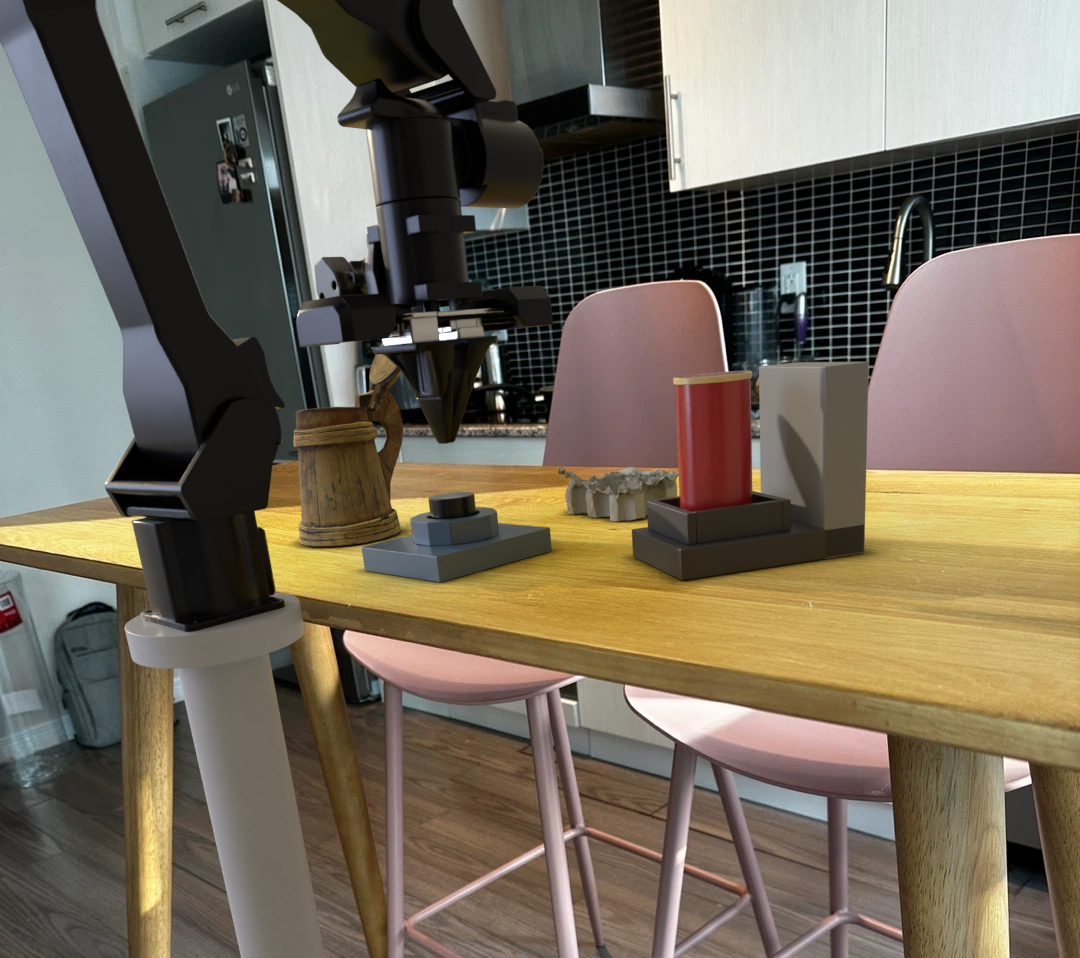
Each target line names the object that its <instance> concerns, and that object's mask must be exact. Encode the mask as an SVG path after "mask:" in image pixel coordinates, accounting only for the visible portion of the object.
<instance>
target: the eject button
mask: <svg viewBox="0 0 1080 958" xmlns="http://www.w3.org/2000/svg"><path fill="white" fill-rule="evenodd" d="M476 507H477V506H476V497H475V493H473V492H471V491H458V492H457V491H456V492H454V491H453V492H445V493H439V494H435V495H431V496H429V497H428V508H429V512H430V516H431V519H436V520H438V519H455V518H463V517H468V516H473V515H477V514H476Z"/></svg>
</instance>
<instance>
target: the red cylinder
mask: <svg viewBox="0 0 1080 958" xmlns="http://www.w3.org/2000/svg"><path fill="white" fill-rule="evenodd" d="M752 378H753V370H752V371H751V370H734V371H733V370H731V371H718V372H706V373H696V374H687V375H681V376H675V377H673V378H672V382H673V385H674V392H675V393H674V395H675V416H676V417H675V418H676V421H675V422H676V443H677V444H676V445H677V466H678V467H677V469H678V471H677V472H679V475H678V492H679V494H678V496H680V508H681V509H684V510H688V511H691V512H693V511H701V510H708V509H715V508H723V507H730V506H737V505H745V504H752V503H753V498H752V491H753V443H752V438H753V437H752V433H753V432H752V387H751V386H752V380H751V379H752Z"/></svg>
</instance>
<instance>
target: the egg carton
mask: <svg viewBox="0 0 1080 958" xmlns="http://www.w3.org/2000/svg"><path fill="white" fill-rule="evenodd" d="M557 474H558V475H562V476H563V477H564V478H565V479H569V484H568V485H567V486H566V489H565V495H564V497H565V503H566V509H567V510H566V511H567V512H568V514H570V515H580V514H587V516H588V518H607V517H609V519H610V521H611V522H612V521H613V522H625V521H636V520H640V519H646V516H647V500H655V499H662V498H670V497H677V496H678V483H677V478H679V471H677V472H675V471H674V470H671V471H670V472H668V471H666V470H662V469H660V468H658V469H657V470H656V471H652V470H649V471H643V470H641V469H639V468H637V467H635V466H629V467H626V468H623V469H622V470H619V471H611V472H609V473H608V472H605V473H604V476H602V477H599V478H598V477H596V476H595V474H592V475H591V476H590V477H589V479H588V480H587V479H584V478H581V477H580V476H578V475H577V474H576V473H575V472H573V471H567V470H566V468H564V467H559V468H558V471H557Z"/></svg>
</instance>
